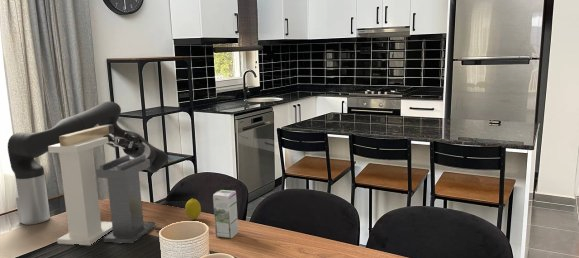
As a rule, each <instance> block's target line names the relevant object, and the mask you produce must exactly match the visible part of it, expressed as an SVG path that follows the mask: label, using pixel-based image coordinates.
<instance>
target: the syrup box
mask: <svg viewBox="0 0 579 258" xmlns="http://www.w3.org/2000/svg"><path fill="white" fill-rule="evenodd" d="M236 191H237V190H225V189H220V190H218V191H216V192H215V193H213V195H212V201H213V214H214V228H215V237H216V238H223V239H232V238H234V237H235V236H236V235H238V234H239V222H238V207H237V203H238V202H237V201H238V200H237V192H236Z"/></svg>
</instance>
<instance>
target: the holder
mask: <svg viewBox="0 0 579 258" xmlns="http://www.w3.org/2000/svg"><path fill="white" fill-rule="evenodd" d="M148 167H150V159H146V158H145V155H141V156H139V157H137V158H130V156H129V155H127V154H125V155H122V156H120V157H118V158H115V159H112V160H109V161H108V162H105V163H102V164H100V165H99V168H98V169H95V174H96V179H106V181H107V189H108V190H107V191H108V198H109V200H108V201H109V209H110V217H111V218H110V219H111V222H112V228H113V231H112V232H110V233H109V234H107V235H106V236H104V237H103V238H102V239H103V243H104V242H122V243H132V242H134V241H135V240H136V239H138V238H139V237H140V236H142V235H143V234H145V233H146V234H147V233H149V232H150V231H151V230H153V229H154V228H155V227H157V226H156V222H155V221H144V215H143V205H142V203H143V202H142V195H141V194H142V193H141V182H140V172H141V171H144V170H147V169H146V168H148ZM146 234H145V235H146ZM143 236H144V235H143ZM143 236H142V237H143ZM139 239H140V238H139ZM139 239H138V240H139ZM134 243H135V242H134Z"/></svg>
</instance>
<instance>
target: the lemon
mask: <svg viewBox="0 0 579 258" xmlns="http://www.w3.org/2000/svg"><path fill="white" fill-rule="evenodd" d="M201 207H202V206H201V203H200V201H198V200H197V199H196V198H191V199H189V200H188V201H187V202H186V204H185V207H184V211H185V215H186V216H187V218H189V219H191V220H193V221H194V220H196V218H198V217H199V216H200V215H201V211H202V208H201Z"/></svg>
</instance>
